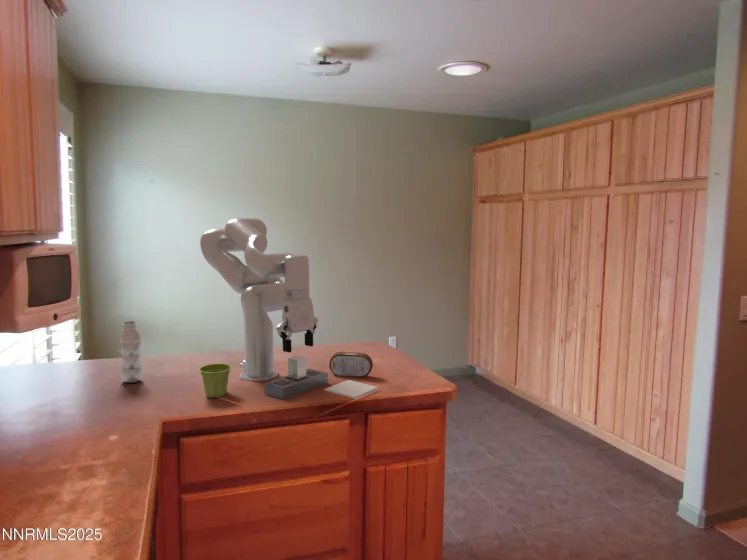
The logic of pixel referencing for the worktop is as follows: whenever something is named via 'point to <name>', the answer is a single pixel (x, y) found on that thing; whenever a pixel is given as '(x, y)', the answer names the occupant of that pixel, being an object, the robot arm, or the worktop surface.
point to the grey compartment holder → (295, 384)
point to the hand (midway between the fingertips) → (298, 348)
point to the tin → (351, 364)
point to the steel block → (297, 368)
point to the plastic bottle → (130, 353)
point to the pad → (352, 389)
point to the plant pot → (215, 379)
